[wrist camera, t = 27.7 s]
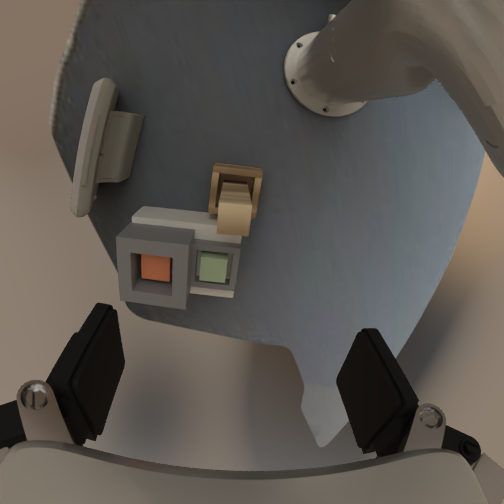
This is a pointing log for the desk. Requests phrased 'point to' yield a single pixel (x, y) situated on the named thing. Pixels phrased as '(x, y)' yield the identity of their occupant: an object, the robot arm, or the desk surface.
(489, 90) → the robot arm
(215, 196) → the holder
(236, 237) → the push button control box
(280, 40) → the desk surface
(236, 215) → the tall wooden block
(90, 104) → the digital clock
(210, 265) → the on button
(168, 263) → the plunger
